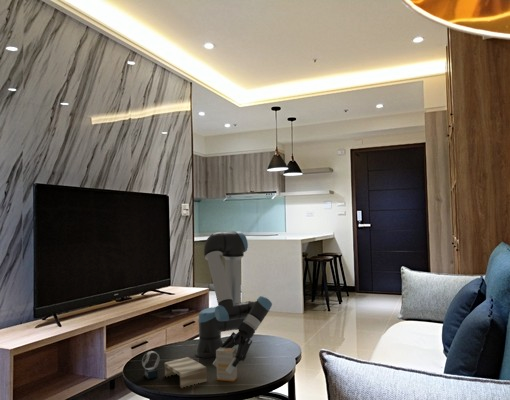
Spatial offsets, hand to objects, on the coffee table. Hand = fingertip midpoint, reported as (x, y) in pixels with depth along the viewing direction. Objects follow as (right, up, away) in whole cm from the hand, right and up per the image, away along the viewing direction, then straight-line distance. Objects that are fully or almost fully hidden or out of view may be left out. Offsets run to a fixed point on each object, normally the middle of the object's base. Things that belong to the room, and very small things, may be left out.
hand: (221, 369), depth 176 cm
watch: (-33, -7, +8) cm, 35 cm away
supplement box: (+3, -5, +1) cm, 6 cm away
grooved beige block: (-16, -6, +4) cm, 18 cm away
